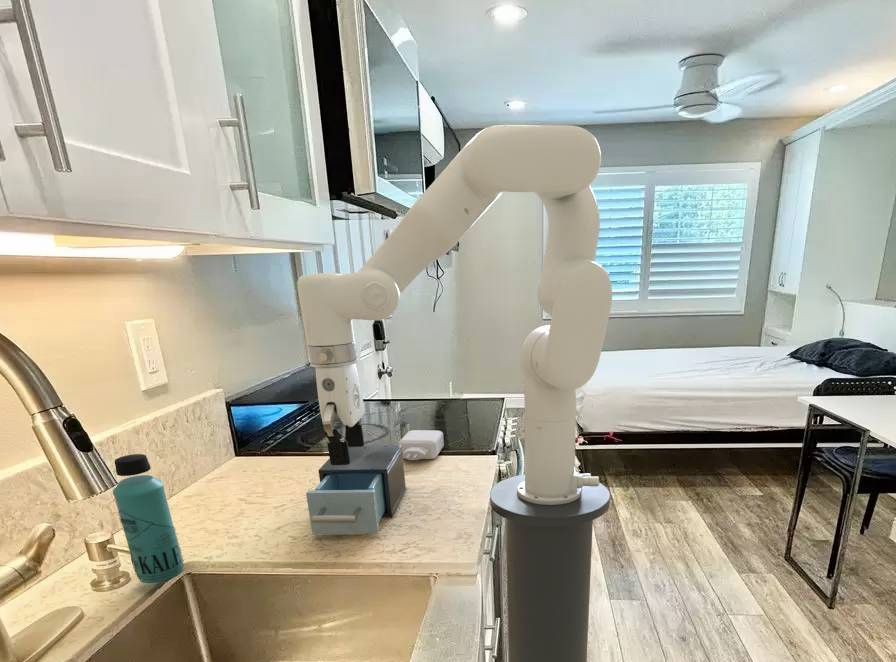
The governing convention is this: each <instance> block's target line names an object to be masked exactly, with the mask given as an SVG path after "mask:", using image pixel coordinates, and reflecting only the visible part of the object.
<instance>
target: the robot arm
mask: <svg viewBox="0 0 896 662" xmlns="http://www.w3.org/2000/svg"><path fill="white" fill-rule="evenodd" d="M601 162H602V152H601V148H600V145H599V142H598V140H597V138H596V137H595V136H594V134H592V133H591V132H590V131H589V130H587V129H585V128H583V127H581V126H577V125H568V124H566V125H565V124H559V125H558V124H553V125H552V124H548V125H547V124H544V125H543V124H542V125H541V124H540V125H539V124H537V125H536V124H535V125H534V124H498V125H491V126H488V127H485V128H483V129H482V130H481V131H479V132H478V133H476V134H475V136H473V137H472V138H471V139H470V140H469V141H468V142H467V143H466V144H465V145H464V146H463V148H462V149H461V150H460V151H459V152H458V153H457V155H455V156H454V158H453V159H452V160H451V161H450V162H449V163H448V165H447V166H446V167H445V168H444V169H443V170H442V171H441V173H440V174H439V175H438V176H437V177H436V179H435V180H434V181H433V182H432V183H431V184H430V185H429V186H428V187H427V189H426V190H425V191H424V192H423V193H422V194H421V196H419V198H418V199H417V200H416V201H415V202H414V203H413V204H412V206H411V207H410V208H409V210H408V211H406V213H405V214H404V216H403V217H402V218H401V220H400V221H399V223H398V225H397V226H396V227H395V228H394V229H393V231H392V232H391V233H390V235H388V236H387V238H386V239H385V240H384V241H383V243H382V244H381V245H380V246H379V247H378V248H377V249H376V250H375V252H374V253H373V254H372V255H371V256H370V257H369V259H368V260H366V262H365V263H364V264H363V265H362V266H361V267H360V268H359V270H358V271H356V272H350V273H345V274H344V273H343V274H340V273H337V272H320V273H308V274H303V275H301V276H300V277H298V279H297V283H296V287H297V294H298V300H299V306H300V310H301V317H302V323H303V329H304V335H305V341H306V347H307V353H308V358H309V364H310V367H311V368H315V380H316V389H317V390H316V391H317V397H318V399H317V400H318V406H319V412H320V418H321V420H322V427H323V429H324V432H323V433H324V435H325V441H326V444H327V450H328V456H329V458H330V463H331V465H349V464H350V462H351V461H350V455H349V448H348V447H362V446H365V438H364V432H363V431H364V430H363V424H362V417H363V416H364V415H365V414H366V413H365V412H366V409H365V403H364V398H363V393H362V392H363V391H362V387H361V381H360V376H359V372H358V369H357V366H356V364H357V363H358V362H359V360H358V351H357V345H356V338H355V330H354V323H353V320H363V321H382V320H386V319H387V318H389V317H390V316H392V315H393V314H394V313H395V311H397V309H398V306H399V303H400V296H401V294H402V293H403V292H404V291H405V290H406V289H407V287H408V286H410V285H411V283H412V282H413V281H414V280H415V279H416V278H417V277H418V276H419V275H420V274H421V273H422V272H423V271H424V270H425V269H426V268H428V267H429V266H431V264H433V263H435V261H437V260H439V259H440V258H442V257H444V256H445V255H446V254H448V253H449V252H450V251H451V250H452V249H453V248H454V247H455V246H456V245H457V244H458V243H459V242H460V241H461V240H462V238H463V237H464V236H465V235H466V233H468V231H469V230H470V229H471V228H472V227H473V226H474V225H475V223H476V222H477V221H478V220H479V219H480V218H481V217H482V216H483V215H484V214H485V212H486V211H487V210H489V208H490V207H491V206H492V205H493V204H494V203H495V201H496V200H497V199H498V198H499V197H500V196H501V195H502V194H503V193H535V194H536V196H538V197H537V198H539V199H540V201H541V202H542V204H543V206H544V209H545V211H546V215H547V223H548V226H547V234H546V236H547V237H546V244H545V250H544V255H543V260H542V265H541V270H540V274H539V275H540V276H539V281H538V286H537V301H538V305H539V306H540V308H541V309H542V310H543V311H544V312H545V313H546V314H547V315H548V316H551V319H550V324H548V325H541V326H539V327H537V328H535V329H533V330H532V331H531V332H530V333H529V334H528V335H527V336H526V338H525V339H524V342H523V344H522V346H521V352H520V365H521V366H520V367H521V374H522V375H521V376H522V382H523V383H522V384H523V396H524V397H523V398H524V474H525V481H523V482H522V483H520V484H519V485H518V487H517V494H518V496H519V497H520V498H521V499H523V500H525V501H527V502H530V503H534V504H540V505H560V504H566V503H570V502H573V501H575V500H577V499H578V498H579V497H580V496H581V495H582V486H599V483H600V478H599V476H598V475H597V476H596V475H595V476H592V474H591V473H587V472H586V473H579V471H578V472H577V470H576V467H575V458H576V457H575V456H576V427H577V391H576V390H577V389H580V388H582V387H583V386H585V385H587V383H588V382H589V381H591V379H592V377H593V376H594V374H595V372H596V370H597V367H598V365H599V363H600V358H601V354H602V349H603V345H604V341H605V336H606V333H607V327H608V324H609V323H608V322H609V318H610V314H611V310H612V309H611V308H612V303H613V287H612V282H611V278H610V276H609V273H608V272H607V271H606V269H605V268H604V267H603V266H602V265H601V264H599V263H598V262H596V261H595V260H596V256H597V250H598V243H599V236H600V229H601V216H600V208H599V205H598V202H597V199H596V196H595V193H594V191H593V189H592V186H591V184H592V183H593V182H594V180H595V179H596V178H597V175H598V173H599V172H600V168H601V164H602V163H601Z"/></svg>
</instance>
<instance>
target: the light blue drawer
mask: <svg viewBox="0 0 896 662" xmlns="http://www.w3.org/2000/svg"><path fill="white" fill-rule="evenodd" d="M305 496H306V502H307V509H308V515H309V521H310V527H311V533H312V535H313V536H318V535H319V536H321V535H322V536H324V535H328V536H329V535H378V534H379V533H380V522H381V520H382V518H381V517H382V515H383V513H384V512H385V510H386V508H387V504H386V494H385V484H384V475H383V473H365V474H327V476H326V477H325V478H324V479H323V480H322V481H321V482H320V481H319V483H318V484H317V486H315V488H314V490H307V491H306V492H305Z"/></svg>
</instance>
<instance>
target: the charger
mask: <svg viewBox="0 0 896 662" xmlns="http://www.w3.org/2000/svg"><path fill="white" fill-rule="evenodd" d="M444 441H445V440H444V433H443V431H441V430H436V429H434V430H432V429H431V430H430V429H429V430H426V429H425V430H424V429H413V430H409V431H407V433H406V434H405V435H403V436H402V438H401V439H400V440H399V441H398V443H397V445H402V454H403V460H408V461H420V460H434V459H436V458H437V457H438V456H439V454H440V452H441V451H442V450H443V448H444V445H445V443H444Z"/></svg>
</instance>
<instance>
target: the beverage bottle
mask: <svg viewBox="0 0 896 662" xmlns="http://www.w3.org/2000/svg"><path fill="white" fill-rule="evenodd" d="M114 466H115V473H116V475H117V476H120V477H127V478H123V479H122V480H120V481H119V482H117V484H118V485H117V484H116V485H117V487H116V486H115V487H116V488H115V487H114V488H113V489H112V495H113V496H114V500H115V503H116V507H117V511H118V512H117V516H119V522H120V525H121V527H122V530H123V534H124V537H125V540H126V542H127V543H126V544H127V548H128V551H129V555H130V557H129V558H130V561H131V564H132V567H133V570H134V575H136V578H137V579H138V580H139V582H141V583H143V584H158V583H159V584H160V583H163V582H167V581H169V580H172V579H174V578H176V577H178V576H179V575H180V574H182V572H183V571H184V568H185V567H184V566H185V564H184V558H183V554H182V550H181V547H180V542H179V538H178V534H177V532H176V527H175V526H174V523H173V518H172V514H171V511H170V507H169V503H168V499H167V494H166V490H165V486H164V482H163V481H162V480H161V479H159V478H157V477H155V476H153V475H150V474H144V473H147V472H148V471H150V470H151V469H152V467H151V464H150V463H149V459H148V457H147V455H146V454H142V453H135V454H127V455H123V456H120V457H117V458H116V459H114Z"/></svg>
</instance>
